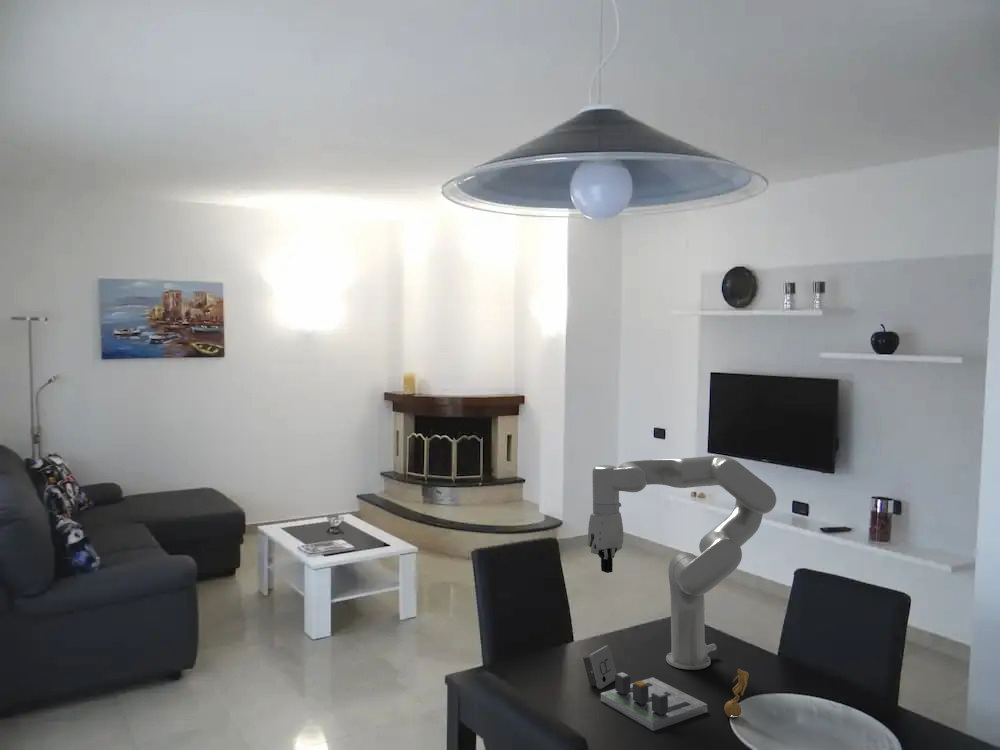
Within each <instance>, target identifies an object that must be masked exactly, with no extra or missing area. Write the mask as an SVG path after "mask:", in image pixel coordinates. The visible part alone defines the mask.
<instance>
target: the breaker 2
mask: <svg viewBox="0 0 1000 750" xmlns="http://www.w3.org/2000/svg"><path fill="white" fill-rule="evenodd" d="M652 711H654V712H656V713H658V714H660V715H661V714H664V713H667V712H668V696H667V695H666V694H664V693H662V692H660V691H658V692H655V693H652Z"/></svg>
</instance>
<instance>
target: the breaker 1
mask: <svg viewBox="0 0 1000 750" xmlns="http://www.w3.org/2000/svg"><path fill="white" fill-rule="evenodd" d="M614 682H615V683H614V684H615V685H614V686H615V688H614V689H615V690H616V691H618V692H620V693H622V694H625V693H629V692H630V684H631V676H630V675H629V674H627V673H625V672H623V671H622V672H619V673H617V674H616V675H615V680H614Z"/></svg>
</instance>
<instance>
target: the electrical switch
mask: <svg viewBox="0 0 1000 750" xmlns="http://www.w3.org/2000/svg"><path fill="white" fill-rule="evenodd" d="M582 659H583V663H584V668H585V671H586V672H585V673H586V676H587V679H588V683H589V687H596V688H597V689H598V690H601V689H604V688H605V687H606V686H608V685H610V684H611V683H613V682H615V675H616V674H618V673H617V670H616V666H615V663H614V661H615V660H614V658H613V654H612V650H611V647H610V646H609V645H604V646H603V647H601V648H598V649H595V650H594V651H591V652H590V653H588V654H587V655H585V656H583V658H582Z"/></svg>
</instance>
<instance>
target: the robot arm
mask: <svg viewBox="0 0 1000 750" xmlns="http://www.w3.org/2000/svg"><path fill="white" fill-rule="evenodd" d="M647 485H661V486H667V487H672V488H679V489H687V488H689V489H690V488H700V487H711V486H719V487H722V488H723V489H724V490H725V492H727V493H729V494H730V495H731V496H732V497H734V498H735V505H734V508H733V510H732V511H731V513H730V514H729V515H728V516H727V517H726V518H725V519H724V520H723V521H721V522H720V523H719V524H717V525H716V526H715V527H714V528H713V529H711V530H710V531H709V532H708V533H706V534H705V535H704V536H702V538H701V539H700V542H699V545H698V548H699V552H700V554H699V555H697V556H696V555H694V554H693V553H691V552H680V553H679V552H678V553H677V554H675V555H674V556H673V557H672V559H671V560H670V561H669V564H668V581H669V592H670V593H669V594H670V634H671V636H670V637H671V639H670V641H671V642H670V643H671V651H670V652H669V653H667V654H666V656H665V661H666V662H667V664H668V665H670V666H671V667H674V668H675V669H676V668H677V669H682V670H687V671H690V670H691V671H697V670H703V669H706V668H709V666H710V665H711V663H712V662H711V657H710V656H709V655H708V654H709V653H710V652H713V651H716V650H717V645H716V644H715V643H711V644H708V645H707V643H706V641H705V640H706V638H705V637H706V636H705V634H706V633H705V625H706V623H705V594H707V593H708V592H710V591H711V590H712V589H713V588H715V587H716V586H717V585H719V584H720V583H721V582H722V581H723V580H725V579H726V578H727V577H729V576H730V575H731V574H732V573H733V572H734V571H735V570H736V569H737V568H738V567H739V566H740V563H741V562H742V558H743V551H742V548H741V547H742V546H744V545H745V544H746V543H747V542H748V541H749V540H750V539H751V538H752V537H753V536H754V535H755V534H756V533H757V531H758V530H759V528H760V526H761V523H762V519H763V515H764V514H768V513H770V512H771V511H773V509H774V508H775V507H776V504H777V495H776V493H775V491H774V489H773V488H772V487H771V486H770V485H768V484H767V482H764V480H762V479H760V478H759V477H758V476H757V475H755V474H754V473H753V472H751V470H749V469H748V468H747V467H745V466H744V465H743V464H741V462H739V461H737V460H736V459H734V458H732V457H729V456H728V455H721V454H720V455H718V454H717V455H708V456H707V455H705V456H697V457H695V456H694V457H683V458H667V459H666V458H664V459H658V458H657V459H643V460H642V459H641V460H631V461H625V462H623V463H621V464H619V466H618V467H617V466H615V465H610V464H603V465H601V464H600V465H597V466H596V465H595V467H593V468H592V513H590V516H589V521H588V529H587V530H588V531H587V546H588V547H589V548H590V553H591V554H593V555H597V556H598V557H599V558H600V567H601V568H600V569H601V572H603V573H606V574H610V573H613V571H614V570H613V565H614V564H613V559H614V558H615V554H616V553H617V552H618V551H620V550H622V549H623V543H624V526H623V524H624V523H623V518H622V514H621V512H620V508H621V507H622V504H621V503H622V502H620V492H626V493H638V492H641V491H642V490H644V489H645V488H646V487H647Z"/></svg>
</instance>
